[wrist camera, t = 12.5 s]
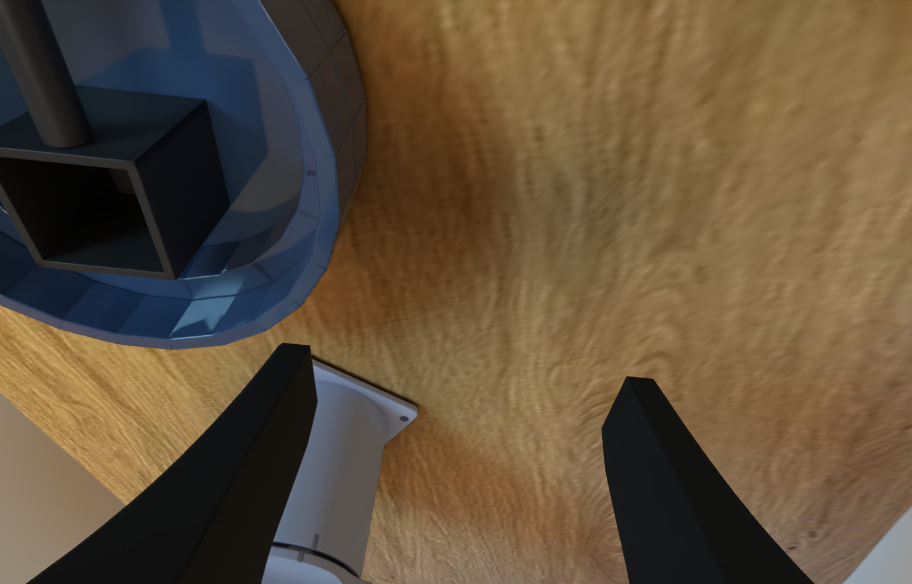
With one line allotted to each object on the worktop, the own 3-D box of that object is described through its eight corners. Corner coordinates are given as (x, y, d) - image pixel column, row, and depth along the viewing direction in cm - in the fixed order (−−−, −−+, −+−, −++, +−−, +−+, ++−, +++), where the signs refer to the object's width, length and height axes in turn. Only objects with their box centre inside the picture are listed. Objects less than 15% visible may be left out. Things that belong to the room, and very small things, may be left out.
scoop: (231, 206, 20) (176, 281, 16) (117, 194, 20) (38, 267, 16) (175, -33, 15) (78, 2, 11) (20, -51, 14) (-127, -21, 11)
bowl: (274, 316, 25) (236, 400, 21) (-101, 138, 19) (-245, 208, 15) (455, 42, 16) (445, 100, 12) (-125, -408, 11) (-453, -548, 7)
